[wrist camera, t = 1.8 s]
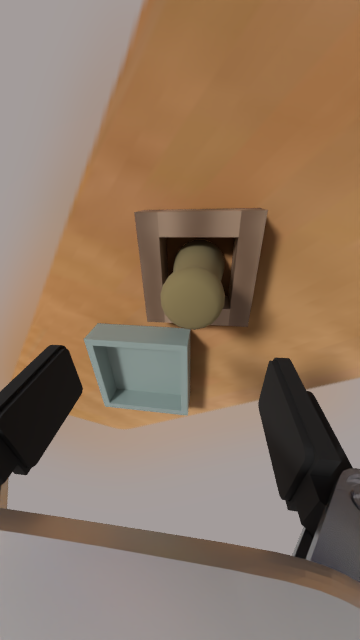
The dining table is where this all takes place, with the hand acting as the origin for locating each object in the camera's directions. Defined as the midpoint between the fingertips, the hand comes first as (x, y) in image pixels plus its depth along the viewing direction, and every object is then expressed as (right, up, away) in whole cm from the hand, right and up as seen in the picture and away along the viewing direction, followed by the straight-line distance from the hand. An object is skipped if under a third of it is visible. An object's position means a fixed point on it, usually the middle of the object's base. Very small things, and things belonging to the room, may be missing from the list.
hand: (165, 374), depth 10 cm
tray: (-5, -4, +24) cm, 25 cm away
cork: (+3, +9, +15) cm, 18 cm away
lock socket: (+3, +9, +15) cm, 18 cm away
